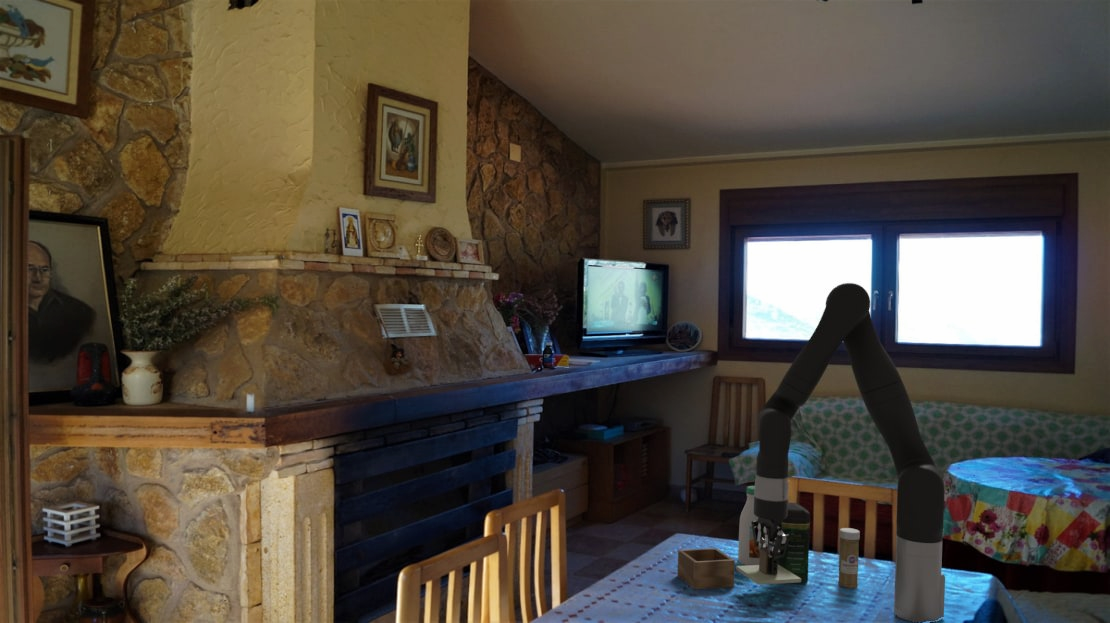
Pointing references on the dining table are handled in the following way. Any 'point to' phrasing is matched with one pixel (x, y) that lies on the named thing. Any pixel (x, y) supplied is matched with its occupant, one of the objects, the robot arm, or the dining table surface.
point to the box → (706, 568)
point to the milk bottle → (748, 532)
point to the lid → (762, 576)
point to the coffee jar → (796, 542)
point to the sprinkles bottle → (848, 557)
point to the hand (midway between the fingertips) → (768, 570)
